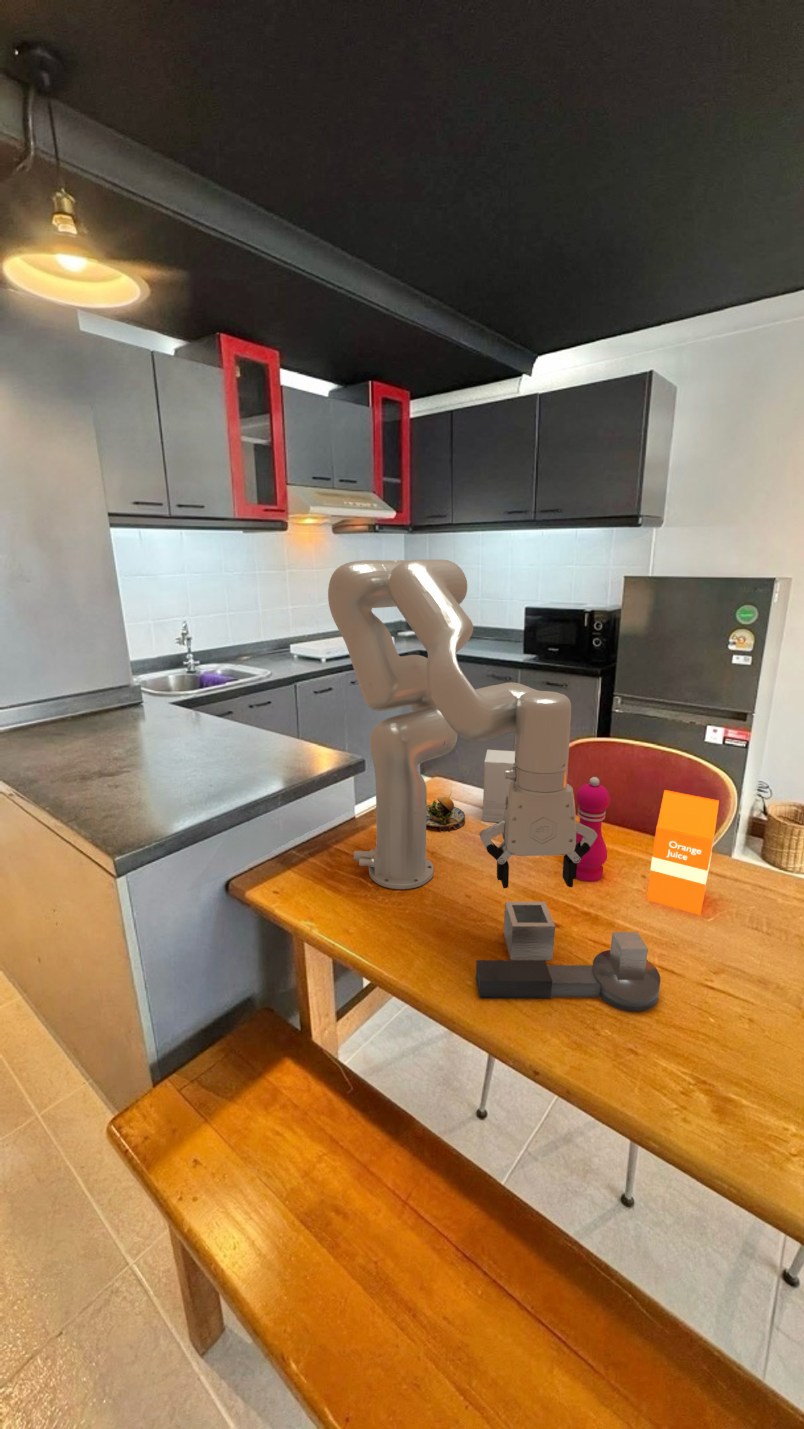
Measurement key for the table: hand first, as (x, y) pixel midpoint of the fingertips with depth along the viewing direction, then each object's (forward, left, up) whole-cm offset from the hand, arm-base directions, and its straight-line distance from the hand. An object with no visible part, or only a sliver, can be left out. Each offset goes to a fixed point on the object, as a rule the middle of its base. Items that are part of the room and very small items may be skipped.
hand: (535, 883), depth 88 cm
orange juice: (+29, +15, -12) cm, 35 cm away
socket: (-1, +1, -12) cm, 12 cm away
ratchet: (+3, -8, -12) cm, 15 cm away
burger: (-12, +46, -12) cm, 49 cm away
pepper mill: (+15, +23, -12) cm, 30 cm away
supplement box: (+3, +49, -12) cm, 50 cm away
